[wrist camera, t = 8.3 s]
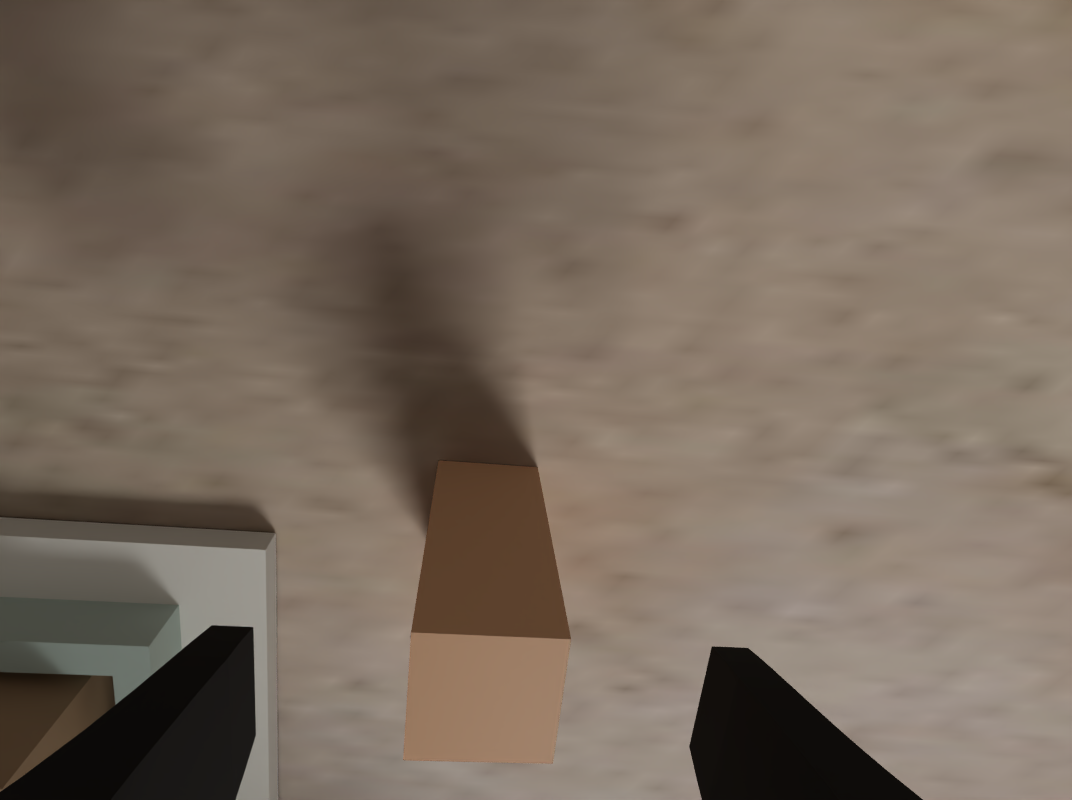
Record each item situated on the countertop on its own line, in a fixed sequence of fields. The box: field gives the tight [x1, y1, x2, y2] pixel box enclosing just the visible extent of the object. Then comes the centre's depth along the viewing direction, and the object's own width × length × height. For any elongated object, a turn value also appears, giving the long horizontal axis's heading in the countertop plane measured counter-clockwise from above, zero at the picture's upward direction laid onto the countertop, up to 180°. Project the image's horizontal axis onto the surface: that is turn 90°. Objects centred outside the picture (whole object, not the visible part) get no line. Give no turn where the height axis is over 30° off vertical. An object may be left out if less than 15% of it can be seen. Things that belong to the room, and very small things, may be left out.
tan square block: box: [403, 460, 571, 764], centre depth 13 cm, size 2×2×6 cm
